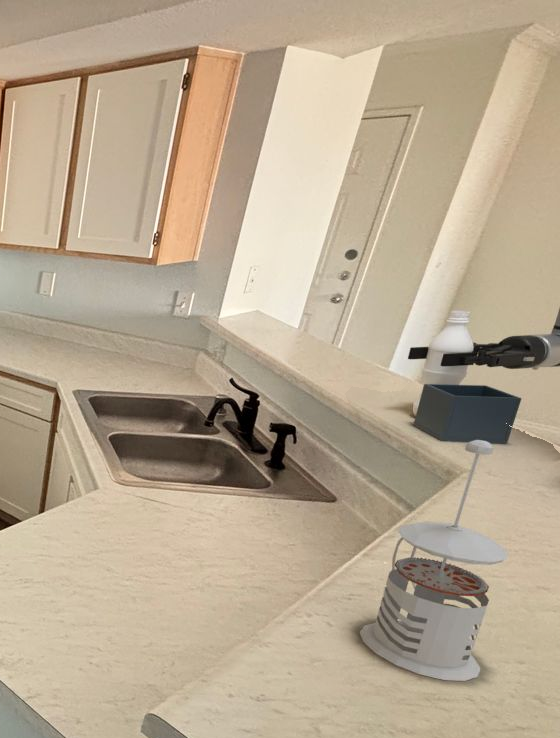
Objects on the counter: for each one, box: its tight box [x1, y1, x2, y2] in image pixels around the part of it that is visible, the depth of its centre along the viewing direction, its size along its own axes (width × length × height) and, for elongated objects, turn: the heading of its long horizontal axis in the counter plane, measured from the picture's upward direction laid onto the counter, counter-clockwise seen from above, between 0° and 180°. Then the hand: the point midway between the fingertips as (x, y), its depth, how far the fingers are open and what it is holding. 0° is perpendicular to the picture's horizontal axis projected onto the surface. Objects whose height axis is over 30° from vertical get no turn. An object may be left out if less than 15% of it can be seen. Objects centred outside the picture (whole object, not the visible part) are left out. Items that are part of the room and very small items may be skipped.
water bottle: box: [412, 309, 473, 417], centre depth 134 cm, size 7×7×25 cm
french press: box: [359, 440, 509, 682], centre depth 63 cm, size 10×12×25 cm
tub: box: [412, 383, 522, 445], centre depth 126 cm, size 11×11×10 cm
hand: (426, 356), depth 133 cm, fingers closed on water bottle, 7 cm apart
